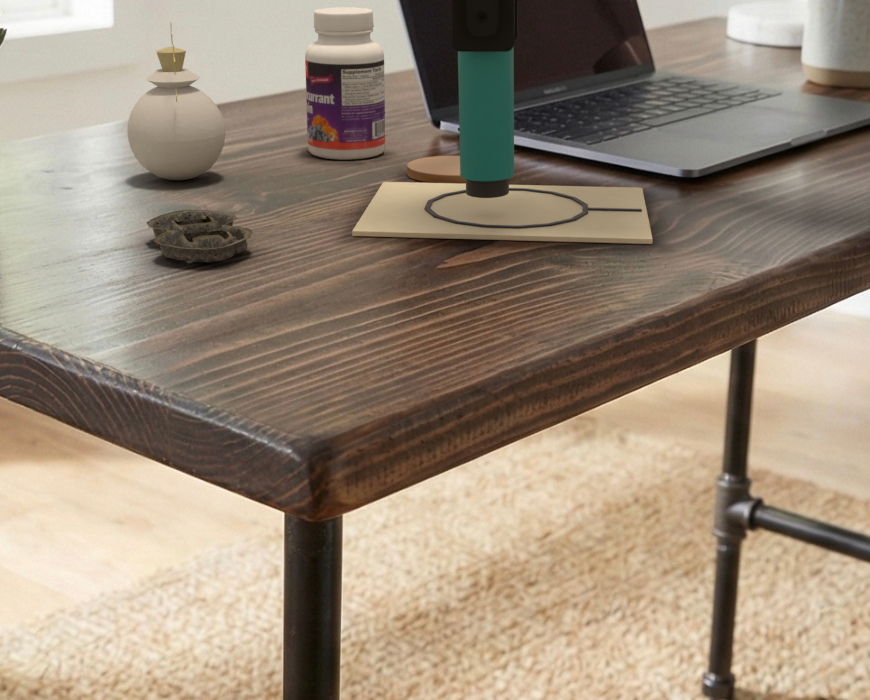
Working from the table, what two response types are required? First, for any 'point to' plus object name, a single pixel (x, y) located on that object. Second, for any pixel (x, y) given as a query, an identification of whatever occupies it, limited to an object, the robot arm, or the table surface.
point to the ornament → (175, 122)
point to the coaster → (436, 169)
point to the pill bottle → (345, 86)
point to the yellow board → (508, 213)
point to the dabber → (486, 121)
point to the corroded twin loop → (199, 235)
